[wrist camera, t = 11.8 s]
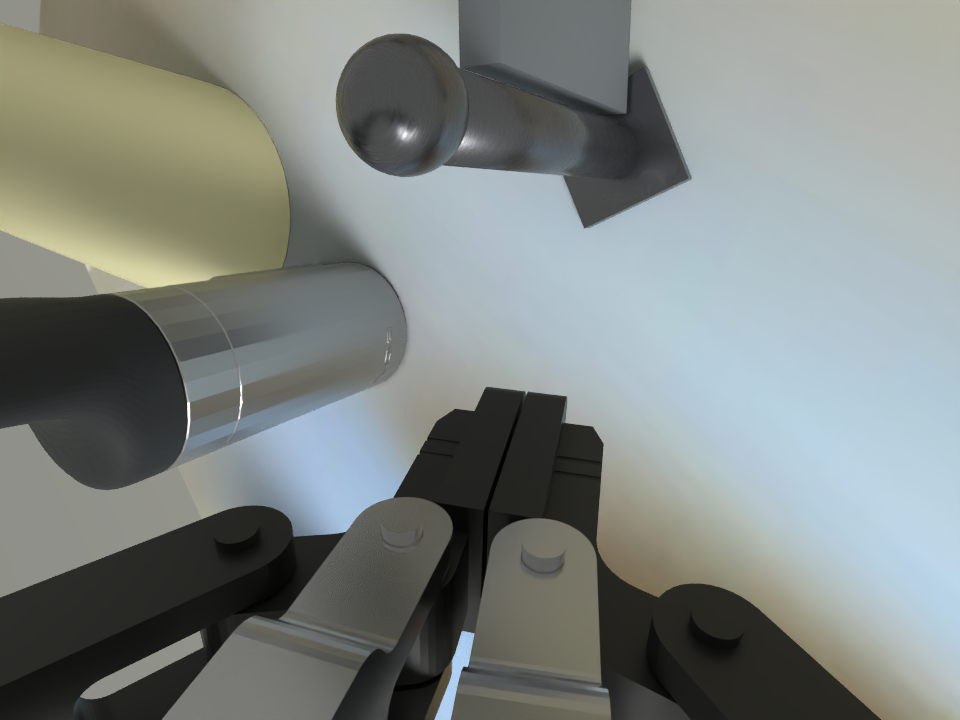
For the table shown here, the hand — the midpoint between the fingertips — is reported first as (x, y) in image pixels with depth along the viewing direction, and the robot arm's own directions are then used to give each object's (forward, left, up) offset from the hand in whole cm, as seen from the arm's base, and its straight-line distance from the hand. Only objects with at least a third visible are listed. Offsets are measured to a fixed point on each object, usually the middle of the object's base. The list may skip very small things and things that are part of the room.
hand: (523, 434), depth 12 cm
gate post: (-8, +4, -24) cm, 26 cm away
